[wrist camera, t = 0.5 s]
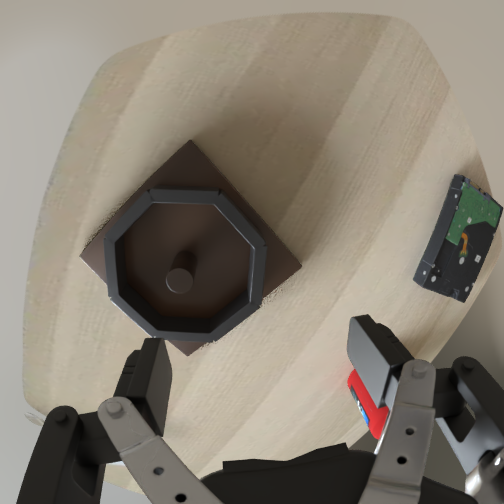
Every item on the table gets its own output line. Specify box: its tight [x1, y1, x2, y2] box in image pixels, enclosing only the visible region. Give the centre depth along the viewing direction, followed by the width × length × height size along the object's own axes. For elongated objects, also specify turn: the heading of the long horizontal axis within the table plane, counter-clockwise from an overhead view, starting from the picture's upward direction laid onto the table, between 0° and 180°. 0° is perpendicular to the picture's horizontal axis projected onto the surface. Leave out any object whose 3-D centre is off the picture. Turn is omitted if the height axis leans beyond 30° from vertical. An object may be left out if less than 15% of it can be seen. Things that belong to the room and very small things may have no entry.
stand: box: [79, 140, 302, 356], centre depth 28 cm, size 17×17×6 cm
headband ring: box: [103, 185, 268, 343], centre depth 28 cm, size 15×15×3 cm
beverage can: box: [348, 369, 389, 440], centre depth 33 cm, size 7×7×12 cm
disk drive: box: [413, 174, 503, 303], centre depth 32 cm, size 10×3×15 cm
